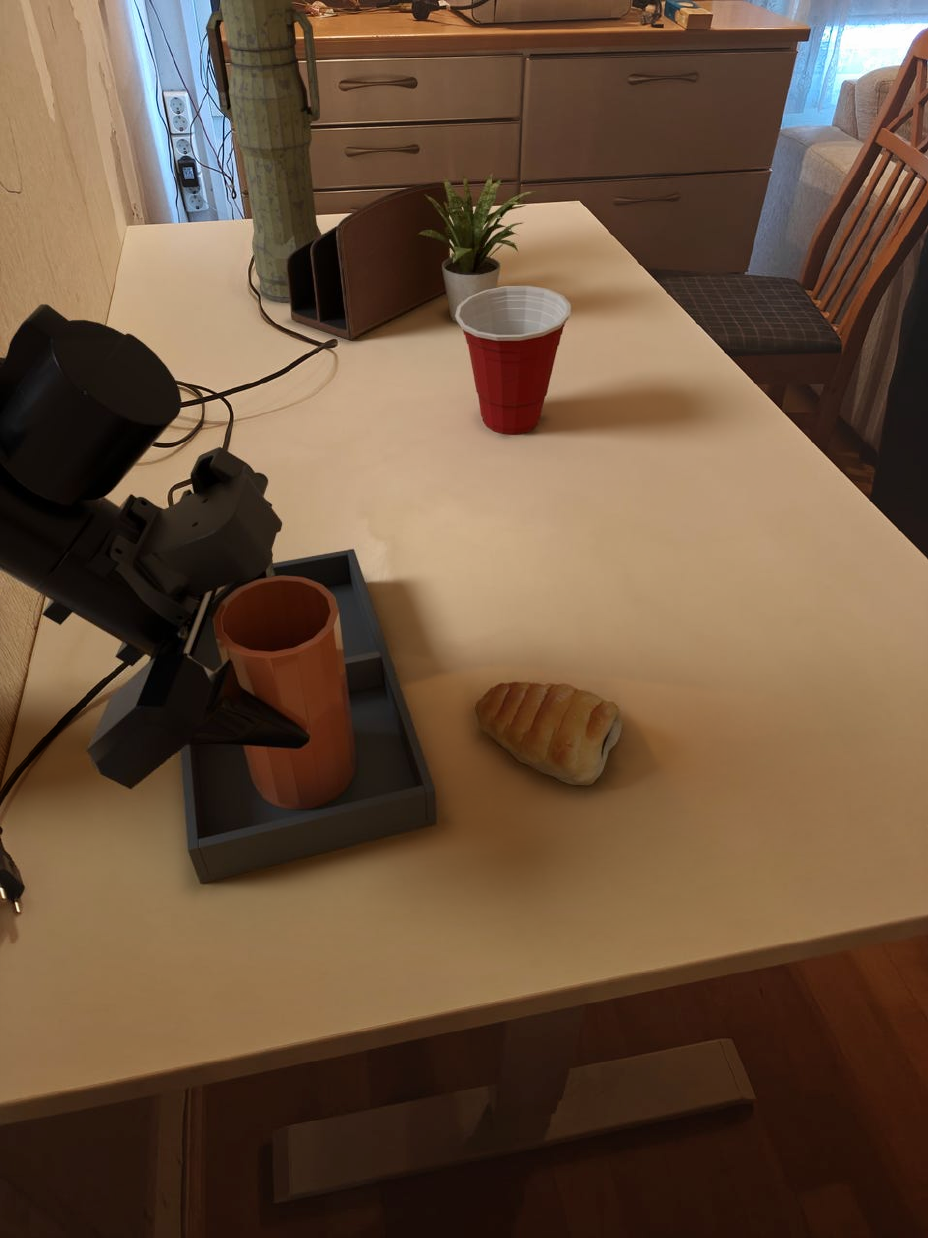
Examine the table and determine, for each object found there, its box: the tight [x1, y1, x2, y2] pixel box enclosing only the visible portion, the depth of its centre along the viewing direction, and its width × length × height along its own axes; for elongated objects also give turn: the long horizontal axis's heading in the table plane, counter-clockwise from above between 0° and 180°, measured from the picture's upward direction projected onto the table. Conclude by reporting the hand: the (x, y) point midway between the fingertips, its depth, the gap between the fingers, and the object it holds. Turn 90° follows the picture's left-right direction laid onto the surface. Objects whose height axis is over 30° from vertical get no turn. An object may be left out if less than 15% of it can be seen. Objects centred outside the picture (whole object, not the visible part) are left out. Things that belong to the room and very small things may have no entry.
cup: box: [213, 575, 356, 810], centre depth 51 cm, size 6×6×13 cm
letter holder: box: [286, 181, 451, 341], centre depth 106 cm, size 10×20×14 cm, turn 144°
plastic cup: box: [455, 285, 572, 435], centre depth 85 cm, size 11×11×12 cm
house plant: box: [419, 171, 539, 323], centre depth 102 cm, size 14×14×16 cm
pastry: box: [474, 681, 623, 786], centre depth 56 cm, size 9×7×4 cm
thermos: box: [205, 0, 322, 304], centre depth 103 cm, size 9×12×35 cm
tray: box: [178, 548, 438, 884], centre depth 58 cm, size 14×24×3 cm, turn 17°
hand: (314, 697), depth 50 cm, fingers closed on cup, 6 cm apart
